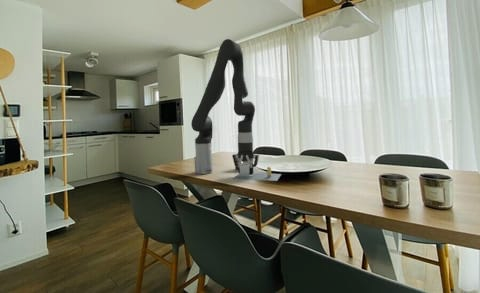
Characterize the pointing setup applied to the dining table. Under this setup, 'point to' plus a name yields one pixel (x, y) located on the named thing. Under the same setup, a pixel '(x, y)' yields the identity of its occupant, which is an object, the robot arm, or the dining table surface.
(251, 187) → the dining table surface
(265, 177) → the board
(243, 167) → the white block
